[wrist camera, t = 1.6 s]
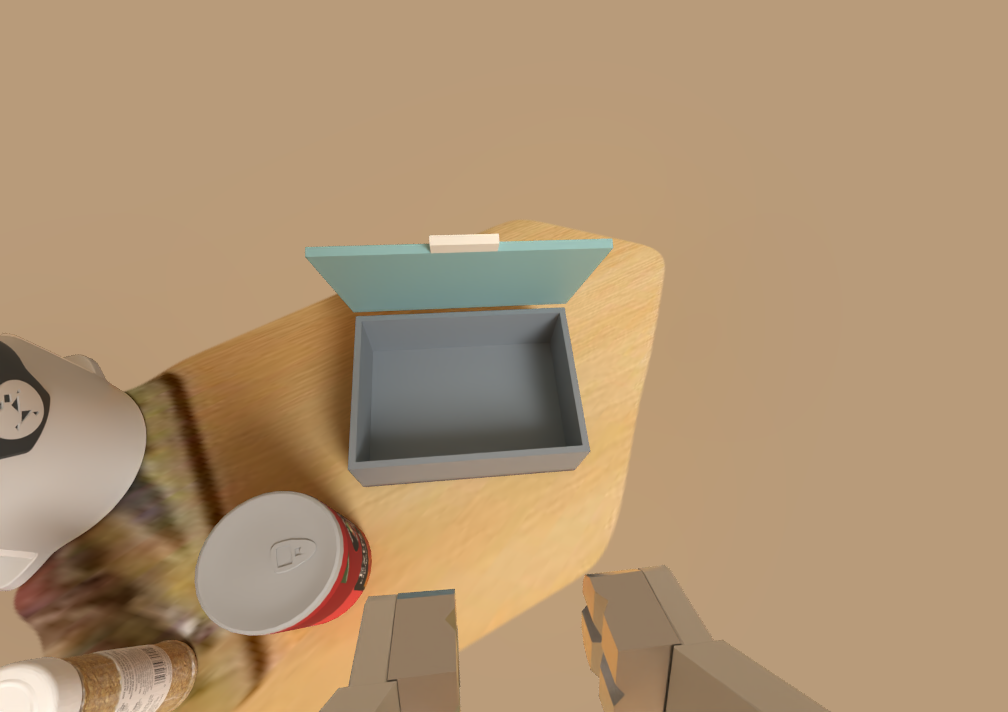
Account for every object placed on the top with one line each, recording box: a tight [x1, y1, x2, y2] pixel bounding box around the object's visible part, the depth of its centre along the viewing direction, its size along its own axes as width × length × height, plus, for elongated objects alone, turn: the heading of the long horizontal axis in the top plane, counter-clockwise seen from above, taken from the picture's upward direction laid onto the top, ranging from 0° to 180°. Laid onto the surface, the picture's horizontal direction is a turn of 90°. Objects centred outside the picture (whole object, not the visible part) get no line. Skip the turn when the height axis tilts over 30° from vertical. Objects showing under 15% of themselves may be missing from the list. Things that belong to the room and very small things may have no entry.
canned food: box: [195, 491, 372, 635], centre depth 32 cm, size 8×8×11 cm
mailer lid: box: [305, 234, 613, 312], centre depth 34 cm, size 18×14×1 cm
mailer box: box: [348, 308, 590, 487], centre depth 41 cm, size 18×13×6 cm
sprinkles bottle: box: [0, 640, 198, 712], centre depth 27 cm, size 5×5×14 cm
